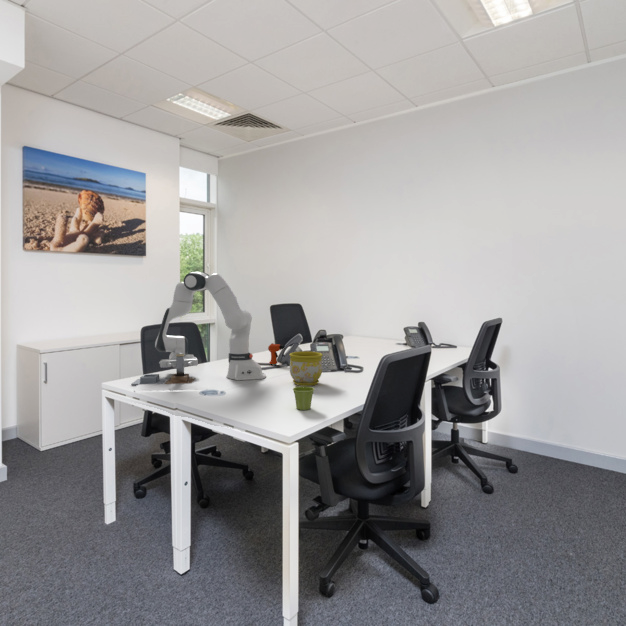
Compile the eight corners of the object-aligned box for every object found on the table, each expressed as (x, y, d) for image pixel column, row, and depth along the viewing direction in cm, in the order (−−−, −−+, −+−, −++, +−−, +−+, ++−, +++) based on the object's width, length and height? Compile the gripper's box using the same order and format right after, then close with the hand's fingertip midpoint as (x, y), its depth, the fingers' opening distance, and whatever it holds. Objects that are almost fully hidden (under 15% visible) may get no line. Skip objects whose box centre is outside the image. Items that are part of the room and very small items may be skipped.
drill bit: (184, 379, 238) (184, 352, 237) (183, 381, 234) (183, 353, 233) (177, 379, 237) (176, 352, 236) (175, 381, 233) (175, 354, 232)
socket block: (195, 379, 243) (195, 372, 243) (191, 385, 229) (191, 377, 229) (169, 379, 242) (169, 372, 241) (164, 385, 228) (164, 378, 227)
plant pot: (290, 406, 191) (290, 386, 190) (311, 405, 193) (311, 385, 192) (294, 412, 182) (294, 391, 181) (316, 410, 184) (316, 390, 183)
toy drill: (290, 365, 281) (287, 342, 281) (267, 366, 291) (265, 344, 291) (294, 364, 285) (292, 341, 285) (272, 365, 295) (270, 343, 295)
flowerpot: (322, 380, 244) (322, 351, 243) (322, 387, 226) (322, 356, 225) (290, 379, 245) (290, 351, 244) (288, 387, 227) (288, 356, 226)
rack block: (167, 380, 240) (167, 373, 240) (162, 385, 229) (162, 377, 228) (137, 380, 238) (137, 373, 238) (131, 385, 227) (131, 378, 226)
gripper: (158, 356, 245) (159, 360, 232) (196, 354, 252) (199, 358, 239) (159, 367, 245) (160, 372, 232) (196, 365, 253) (199, 369, 240)
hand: (180, 365), depth 236 cm, fingers open, 8 cm apart
